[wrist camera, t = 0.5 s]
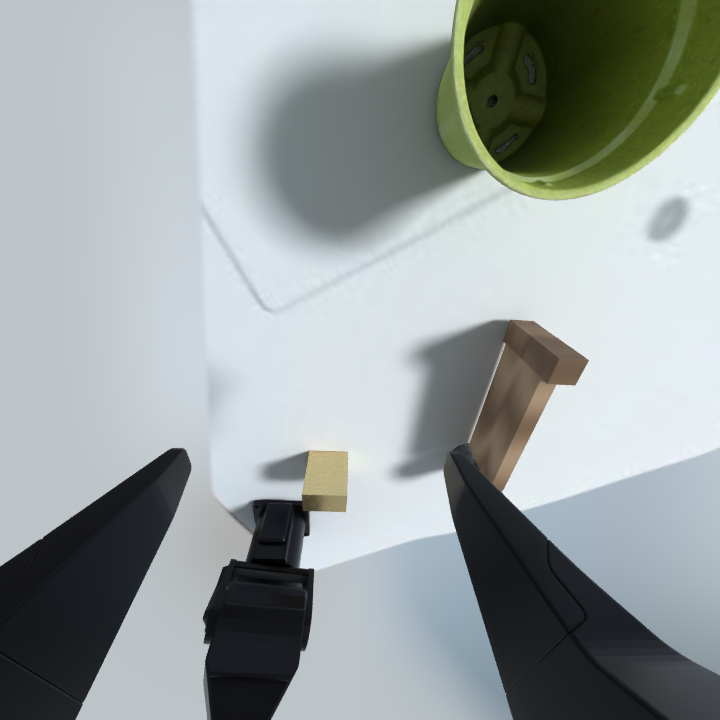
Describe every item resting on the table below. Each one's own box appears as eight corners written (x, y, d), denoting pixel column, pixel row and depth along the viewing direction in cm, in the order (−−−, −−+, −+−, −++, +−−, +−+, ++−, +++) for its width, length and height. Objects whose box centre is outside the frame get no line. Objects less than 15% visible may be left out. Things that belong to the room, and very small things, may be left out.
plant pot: (539, -91, 13) (799, -490, 5) (599, 119, 17) (800, 59, 9) (373, 83, 16) (393, -18, 8) (457, 230, 19) (523, 252, 12)
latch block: (346, 467, 31) (345, 511, 27) (309, 466, 31) (302, 510, 27) (347, 452, 30) (347, 495, 26) (309, 450, 30) (302, 494, 25)
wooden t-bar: (483, 446, 29) (511, 501, 24) (465, 445, 29) (490, 501, 24) (533, 321, 22) (588, 360, 17) (510, 319, 22) (559, 358, 17)
